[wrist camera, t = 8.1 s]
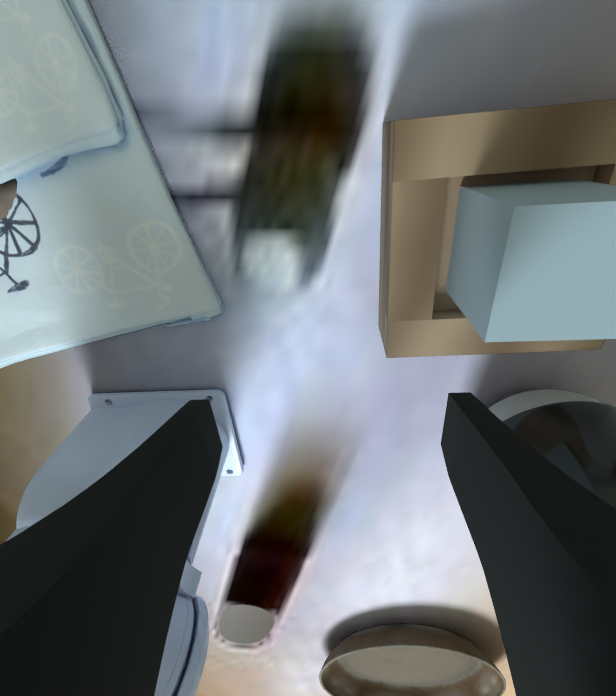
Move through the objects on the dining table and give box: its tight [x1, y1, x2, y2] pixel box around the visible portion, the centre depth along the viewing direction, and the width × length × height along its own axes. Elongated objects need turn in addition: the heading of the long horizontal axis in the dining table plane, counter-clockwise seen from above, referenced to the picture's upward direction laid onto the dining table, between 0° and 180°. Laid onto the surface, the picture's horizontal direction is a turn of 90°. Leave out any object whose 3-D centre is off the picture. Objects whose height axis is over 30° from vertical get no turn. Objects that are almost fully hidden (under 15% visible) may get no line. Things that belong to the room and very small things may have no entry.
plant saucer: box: [319, 624, 506, 696], centre depth 42 cm, size 21×21×3 cm
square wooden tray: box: [379, 99, 616, 358], centre depth 16 cm, size 10×10×4 cm
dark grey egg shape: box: [488, 389, 616, 508], centre depth 17 cm, size 10×10×15 cm
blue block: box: [445, 179, 616, 342], centre depth 13 cm, size 4×4×5 cm
